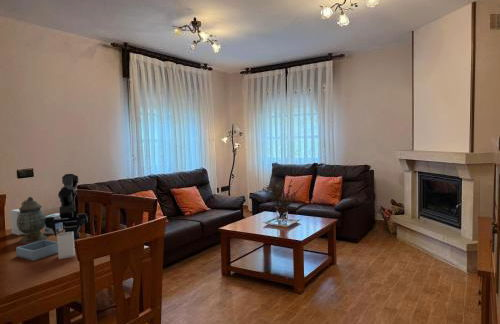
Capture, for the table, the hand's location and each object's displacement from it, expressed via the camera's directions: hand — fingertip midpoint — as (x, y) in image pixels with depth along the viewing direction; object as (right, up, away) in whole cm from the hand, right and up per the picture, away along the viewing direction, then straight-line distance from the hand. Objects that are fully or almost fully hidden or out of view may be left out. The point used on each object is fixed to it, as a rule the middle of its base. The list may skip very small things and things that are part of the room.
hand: (66, 234), depth 162 cm
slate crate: (-15, -10, +2) cm, 18 cm away
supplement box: (-51, -9, +43) cm, 68 cm away
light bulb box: (-32, -8, +44) cm, 55 cm away
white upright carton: (+1, -10, -2) cm, 10 cm away
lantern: (-35, -9, +28) cm, 46 cm away
